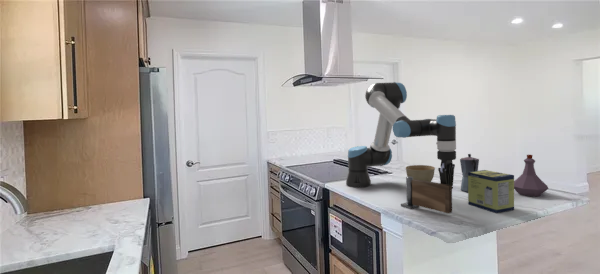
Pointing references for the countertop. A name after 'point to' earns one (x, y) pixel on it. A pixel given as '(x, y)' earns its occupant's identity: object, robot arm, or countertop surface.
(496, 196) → the protein box
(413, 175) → the planter bowl
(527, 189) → the flask
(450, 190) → the gate
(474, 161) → the moka pot
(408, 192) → the gate post
